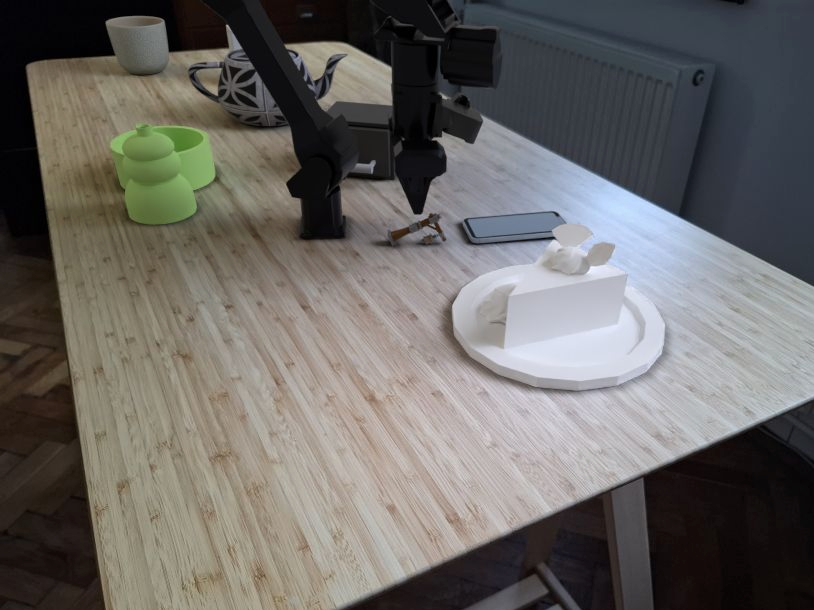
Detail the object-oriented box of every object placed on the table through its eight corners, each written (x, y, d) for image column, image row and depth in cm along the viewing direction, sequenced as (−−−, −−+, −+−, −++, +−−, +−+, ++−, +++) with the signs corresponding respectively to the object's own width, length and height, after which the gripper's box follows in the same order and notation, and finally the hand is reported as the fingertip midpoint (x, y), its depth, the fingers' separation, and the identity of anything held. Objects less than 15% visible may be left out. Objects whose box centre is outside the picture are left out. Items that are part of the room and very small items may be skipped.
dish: (543, 254, 96) (552, 176, 89) (703, 330, 81) (728, 245, 75) (408, 317, 81) (407, 230, 75) (574, 423, 67) (591, 327, 60)
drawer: (384, 186, 111) (382, 139, 106) (317, 180, 112) (313, 133, 107) (400, 157, 121) (399, 114, 117) (339, 152, 122) (336, 109, 118)
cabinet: (394, 179, 115) (393, 124, 110) (323, 173, 116) (318, 118, 111) (406, 158, 123) (405, 106, 118) (340, 152, 124) (336, 100, 119)
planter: (107, 70, 162) (95, 20, 156) (156, 62, 170) (146, 13, 164) (135, 81, 156) (122, 29, 149) (184, 71, 164) (174, 22, 157)
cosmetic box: (233, 80, 160) (225, 24, 153) (252, 79, 161) (244, 23, 154) (238, 87, 155) (229, 30, 148) (257, 86, 157) (250, 29, 150)
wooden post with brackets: (452, 240, 96) (439, 212, 93) (400, 260, 97) (386, 234, 95) (451, 234, 97) (439, 207, 95) (400, 254, 99) (386, 228, 96)
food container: (125, 164, 116) (105, 87, 108) (215, 158, 119) (202, 84, 112) (105, 228, 96) (79, 140, 89) (214, 220, 100) (198, 134, 93)
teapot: (357, 129, 135) (353, 48, 126) (193, 135, 129) (176, 50, 120) (347, 101, 150) (343, 26, 141) (199, 105, 143) (185, 27, 135)
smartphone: (461, 217, 102) (556, 210, 105) (460, 223, 103) (556, 215, 106) (472, 239, 96) (573, 231, 99) (472, 246, 97) (572, 237, 100)
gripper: (492, 103, 78) (484, 229, 87) (469, 62, 93) (464, 173, 102) (393, 103, 76) (396, 231, 85) (386, 61, 91) (389, 174, 100)
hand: (415, 199), depth 93 cm, fingers open, 9 cm apart
